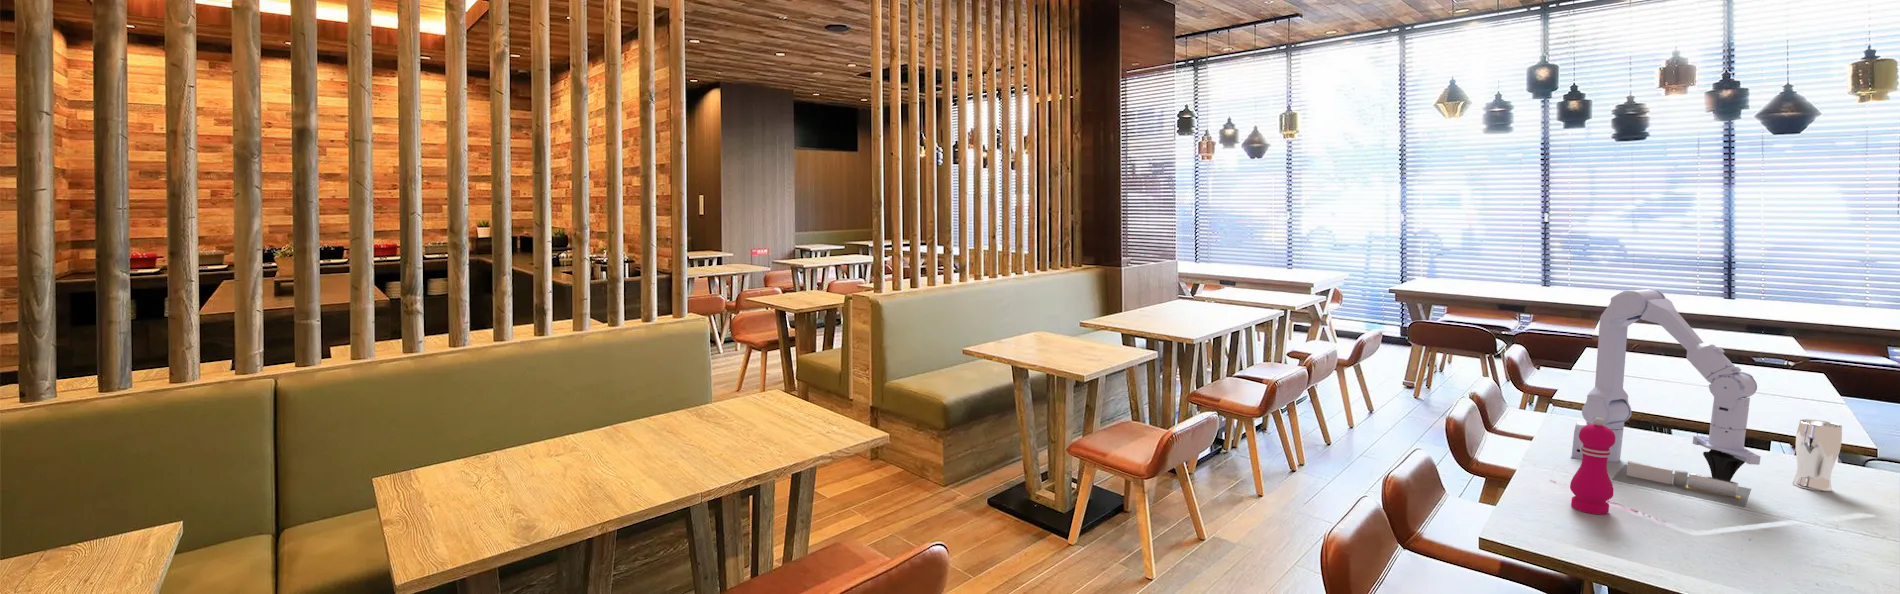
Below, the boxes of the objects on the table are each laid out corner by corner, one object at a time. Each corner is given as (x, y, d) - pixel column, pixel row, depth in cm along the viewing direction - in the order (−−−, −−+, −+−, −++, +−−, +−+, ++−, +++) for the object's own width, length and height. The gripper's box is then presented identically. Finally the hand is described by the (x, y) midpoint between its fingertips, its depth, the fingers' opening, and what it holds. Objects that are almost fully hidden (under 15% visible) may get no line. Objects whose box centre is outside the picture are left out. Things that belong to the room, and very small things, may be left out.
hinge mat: (1611, 483, 186) (1613, 466, 185) (1624, 467, 196) (1626, 451, 196) (1744, 510, 169) (1746, 492, 169) (1750, 492, 180) (1752, 475, 179)
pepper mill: (1619, 516, 166) (1629, 423, 164) (1579, 514, 168) (1589, 421, 165) (1598, 503, 173) (1608, 414, 171) (1561, 501, 175) (1570, 412, 172)
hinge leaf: (1687, 486, 180) (1689, 474, 180) (1689, 485, 181) (1690, 473, 181) (1735, 497, 174) (1737, 484, 174) (1736, 496, 175) (1738, 482, 174)
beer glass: (1813, 482, 186) (1822, 419, 184) (1843, 493, 179) (1853, 428, 177) (1780, 481, 187) (1789, 418, 185) (1809, 491, 180) (1818, 427, 178)
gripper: (1681, 417, 186) (1675, 473, 187) (1738, 435, 171) (1730, 496, 173) (1714, 417, 185) (1706, 474, 187) (1773, 436, 171) (1765, 497, 173)
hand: (1720, 485), depth 180 cm, fingers closed
